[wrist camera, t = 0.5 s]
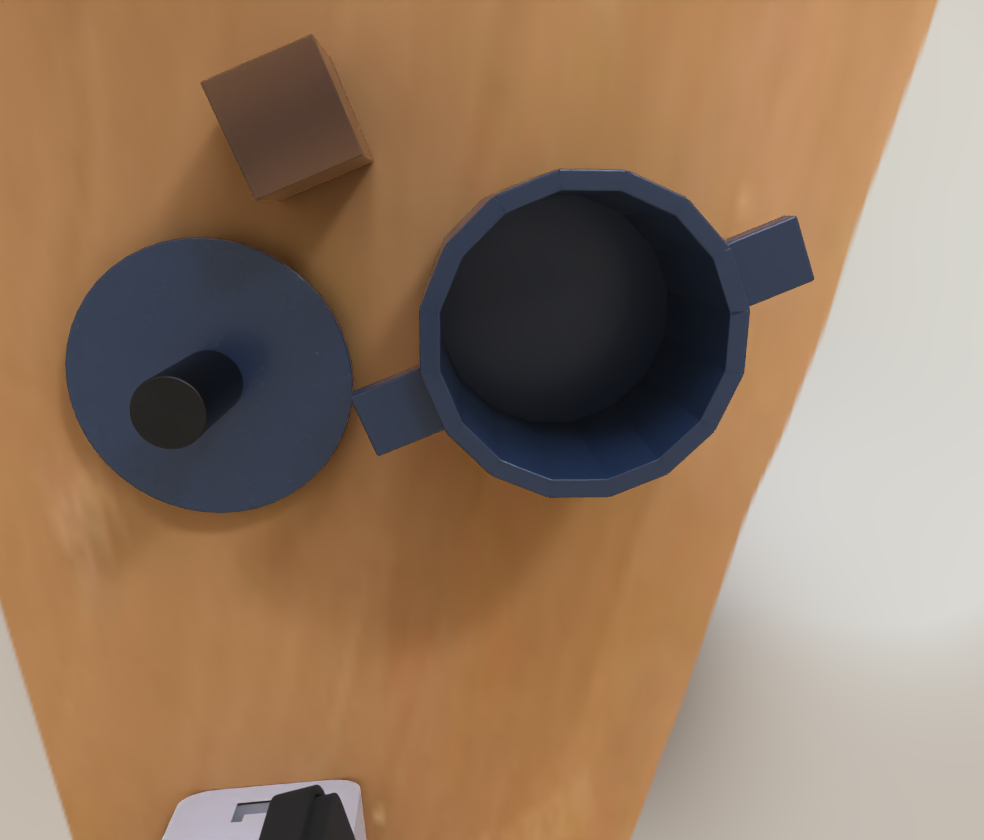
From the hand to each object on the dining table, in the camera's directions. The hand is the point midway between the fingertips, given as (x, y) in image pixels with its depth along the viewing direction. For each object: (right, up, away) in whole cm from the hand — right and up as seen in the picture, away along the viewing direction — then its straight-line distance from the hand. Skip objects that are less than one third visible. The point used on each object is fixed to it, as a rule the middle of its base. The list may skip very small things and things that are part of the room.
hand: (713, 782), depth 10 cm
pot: (0, +9, +26) cm, 27 cm away
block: (-11, +17, +23) cm, 30 cm away
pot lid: (-15, +6, +25) cm, 30 cm away
